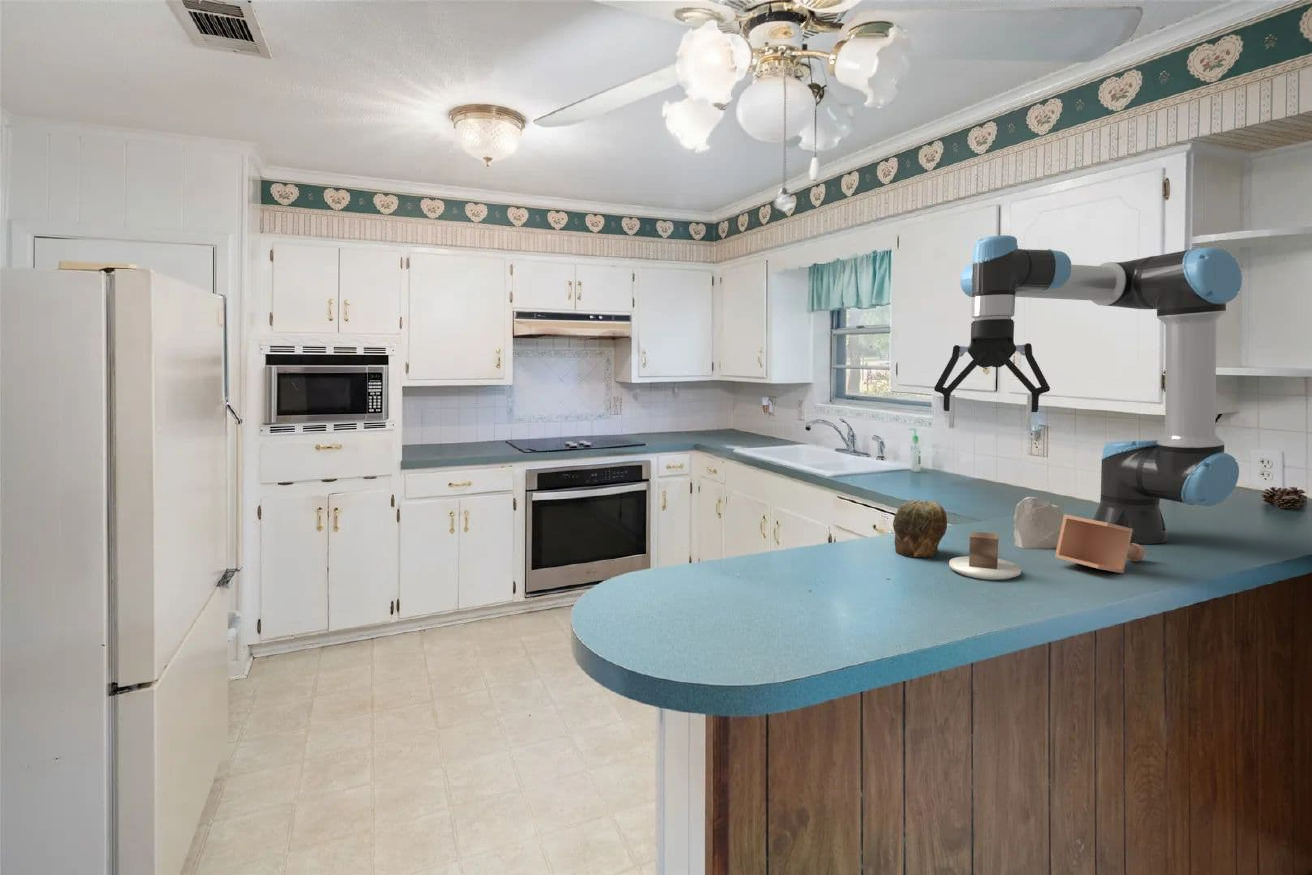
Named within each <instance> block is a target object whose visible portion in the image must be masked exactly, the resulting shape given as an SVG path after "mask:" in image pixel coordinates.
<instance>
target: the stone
mask: <svg viewBox="0 0 1312 875" xmlns="http://www.w3.org/2000/svg"><path fill="white" fill-rule="evenodd" d="M1014 512H1015V513H1014V515H1013V516H1014V517H1013V522H1014V524H1013V525H1014V533H1013V539H1014V546H1016V547H1018V548H1021V549H1027V550H1028V549H1029V550H1032V549H1033V550H1034V549H1035V550H1038V549H1042V550H1043V549H1044V550H1045V549H1050V550H1051V549H1057V545H1058V540H1059V536H1060V531H1061V526H1062V522H1063V517H1064V513H1063V510H1062V509H1061V507H1060V506H1059V505H1056V504H1051V502H1049V501H1047V500H1043V499H1040V498H1038V497H1035V496H1033V497H1032V496H1027V497H1024V498H1023V499H1022V500H1020V501H1019V502H1018V503H1017V504H1016V507H1015V511H1014Z"/></svg>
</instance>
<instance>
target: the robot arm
mask: <svg viewBox="0 0 1312 875" xmlns="http://www.w3.org/2000/svg"><path fill="white" fill-rule="evenodd" d="M1242 276H1243V275H1242V270H1241V267H1240V264H1239V263H1238V261H1237V259H1236V257H1234V256H1232V253H1230V252H1229V251H1227V249H1224V248H1221V247H1217V246H1212V247H1211V246H1210V247H1209V246H1208V247H1195V248H1191V249H1188V250H1180V251H1175V252H1170V253H1166V254H1159V255H1158V254H1157V255H1151V256H1146V257H1143V258H1137V259H1133V260H1127V261H1121V262H1120V261H1119V262H1118V261H1117V262H1112V261H1109V262H1108V261H1107V262H1103V263H1101V264H1099V265H1087V264H1086V265H1085V264H1072V261H1071V258H1070V257H1069V255H1068V254H1067V253H1065V252H1064V251H1061V250H1054V249H1051V248H1049V249H1030V248H1029V249H1028V248H1027V249H1025V248H1024V249H1022V248H1019V245H1018V239H1017V238H1016V237H1015V236H1013V235H1008V234H1007V235H992V236H987V237H982V238H980V239H978V240H977V241H976V242H975V243H974V247H973V256H972V261H971V264H969V265H967V266H966V267H965V268H964V269H963V271H962V273H961V275H960V288H961V290H962V292H963V293H964V294H965V295H966V296H968V297H969V298H971V318H972V319H974V320H973V321H972V322H971V323H970V343H969V345H968V346H963V345H958V344H954V346H953V348H952V352H951V357H950V359H949V360H948V362H947V364H946V365H945V368H944V369H943V371H942V374H941V375H940V377H939V379H938V380H937V383H936V384H935V385H934V388H933V390H934V392H936V393H940V394H942V395H943V407H942V408H943V411H944V412H948V414H949V415H948V429H954V428H955V406H956V403H955V402H956V395H955V394H952V392H953V391H955V389H956V388H957V387H958V386H959V385H960V384H962V382H963V381H964V380H965V379H966V378H967V377H968V376H969V375H970V374H971V372H972V371H973V370H975V369H976V368H977V367H979V368H986V369H987V368H990V367H993V368H1002V367H1004V366H1005V367H1007V368H1008V370H1009V371H1010V372H1011V373H1013V375H1014V376H1015V377H1016V379H1018V380H1019V381H1020V382H1021V383H1022V384H1023V385H1024V387H1025V388H1026V389H1027V390H1028V391H1029V392H1030V393H1031V394H1030V395H1026V420H1025V421H1026V422H1025V430H1026V431H1031V430H1032V429H1031V428H1032V413H1038V411H1039V401H1040V400H1039V398H1040V395H1042V394H1044V393H1048V392H1049V391H1051V387H1050V385H1049V383H1048V382H1047V380H1046V378H1045V375H1044V374H1043V372H1042V369H1041V368H1040V366H1039V364H1038V363H1037V361H1036V359H1035V357H1034V355H1033V347H1032V344H1031V343H1029V342H1027V343H1025V344H1017V345H1015V342H1014V341H1015V340H1014V339H1015V338H1014V337H1015V321H1014V319H1012V318H1013V317H1014V316H1015V310H1016V307H1015V306H1016V298H1031V299H1051V300H1052V299H1057V300H1074V301H1075V300H1076V301H1079V300H1080V301H1091V302H1092V303H1094V305H1097V306H1101V307H1102V306H1106V307H1115V308H1116V307H1117V308H1126V309H1135V310H1156V319H1158V320H1159V321H1160V322H1162V323H1163V324H1164V325H1165V366H1164V367H1165V369H1164V370H1165V377H1164V378H1165V381H1164V384H1165V386H1164V388H1165V389H1164V390H1165V394H1164V395H1165V400H1164V401H1165V409H1164V410H1165V411H1164V412H1165V417H1164V418H1165V420H1164V421H1165V423H1164V424H1165V426H1164V428H1165V434H1164V435H1163V436H1162V437H1161V438H1159V439H1149V440H1148V439H1146V440H1126V441H1125V440H1123V441H1110V442H1107V443H1106V444H1105V445H1104V446H1103V448H1102V450H1103V451H1102V457H1101V458H1100V459H1101V460H1100V461H1101V469H1100V480H1101V481H1100V499H1099V500H1100V502H1099V505H1098V507H1097V509H1096V511H1095V513H1094V515H1093V519H1092V520H1096V521H1101V522H1106V523H1111V524H1115V525H1119V526H1123V527H1127V528H1131V529H1133V531H1132V536H1131V540H1130V543H1136V544H1139V545H1140V544H1142V545H1146V544H1147V545H1150V544H1151V545H1152V544H1162V543H1166V542H1167V541H1168V530H1167V528H1166V524H1165V521H1164V517H1163V515H1162V511H1161V508H1160V502H1161V501H1160V500H1164V501H1165V500H1166V501H1172V502H1176V503H1180V504H1182V503H1183V504H1185V505H1188V506H1202V507H1214V506H1216V505H1219V504H1221V503H1222V502H1224V501H1225V500H1226V499H1228V497H1229V496H1230V495H1231V494H1232V493H1233V492H1234V490H1235V488H1236V486H1237V483H1238V481H1239V476H1240V467H1239V463H1238V461H1237V460H1236V458H1235V456H1233V455H1231V454H1229V453H1227V452H1225V441H1224V440H1222V439H1221V438H1220V437H1218V436H1217V434H1216V410H1217V409H1216V407H1217V406H1216V404H1217V402H1216V401H1217V399H1216V398H1217V397H1216V396H1217V395H1216V392H1217V387H1216V386H1217V385H1216V384H1217V322H1218V320H1219V319H1220V318H1221V317H1222V316H1224V314H1225V313H1226V312H1227V304H1228V303H1229V302H1232V301H1233V300H1234V299H1235V298H1237V296H1238V294H1239V293H1238V292H1239V291H1241V288H1242V283H1243V282H1242V280H1243V277H1242ZM1016 352H1019V355H1021V356H1024V357H1025V359H1026V361H1027V364H1028V365H1029V367H1030V369H1031V370H1032V372H1033V375H1034V376H1035V378H1036V380H1037V382H1038V385H1040V386H1039V387H1036V386H1035V385H1034V384H1033V383H1032V382H1031V381H1030V380H1029V378H1028V377H1027V376H1026V375H1025V374H1024V373H1023V372H1022V371H1021V370H1020V369H1019V368H1018V366H1017V365H1015V363H1014V362H1013V361H1012V360H1011V358H1012V357H1013V356H1014V354H1015V353H1016ZM965 353H968V354H969V356H970V357H971V358H972V360H971V361H970V362H969V363H968V365H967V366H966V367H964V369H963V370H962V371H961V372H960V373H959V374H958V375H957V376H956V377H955V378H954V379H953V380H952V381H951V383H950V384H948V386H947V387H944V386H945V384H946V382H947V381H948V379H949V377H950V375H951V373H952V372H953V370H954V368H955V366H956V365H957V363H958V360H959V359H960V358H961V357H963V356H964V355H965Z"/></svg>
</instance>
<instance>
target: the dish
mask: <svg viewBox="0 0 1312 875" xmlns="http://www.w3.org/2000/svg"><path fill="white" fill-rule="evenodd" d="M948 562H949V563H948V565H949V568H950V569H951V570H952V571H954V572H956V573H958V574H960V575H962V576H966V577H968V578H974V579H979V580H980V579H981V580H990V581H1002V580H1004V581H1005V580H1010V579H1013V578H1015V577H1019V576H1020V575H1021V573H1022V567H1021V566H1020V565H1019V564H1017V563H1015V562H1012V561H1009V560H1006V559H1002V558H998V564H997V569H988V568H979V567H970V566H969V555H966V556H965V555H964V556H957V557H953V558H950V559H949V561H948Z"/></svg>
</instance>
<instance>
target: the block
mask: <svg viewBox="0 0 1312 875" xmlns="http://www.w3.org/2000/svg"><path fill="white" fill-rule="evenodd" d="M968 556H969V566H970V567H979V568H988V569H997V564H998V559H999V533H993V532H982V531H981V532H979V531H971V532H970V535H969V555H968Z"/></svg>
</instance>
